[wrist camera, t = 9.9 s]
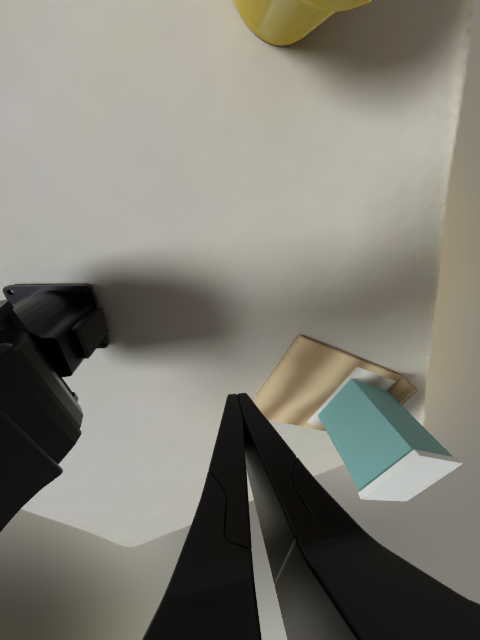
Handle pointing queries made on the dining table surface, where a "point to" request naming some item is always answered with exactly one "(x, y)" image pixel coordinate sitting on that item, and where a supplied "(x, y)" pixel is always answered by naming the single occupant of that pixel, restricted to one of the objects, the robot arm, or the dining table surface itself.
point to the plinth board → (319, 382)
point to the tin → (383, 444)
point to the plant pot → (289, 17)
